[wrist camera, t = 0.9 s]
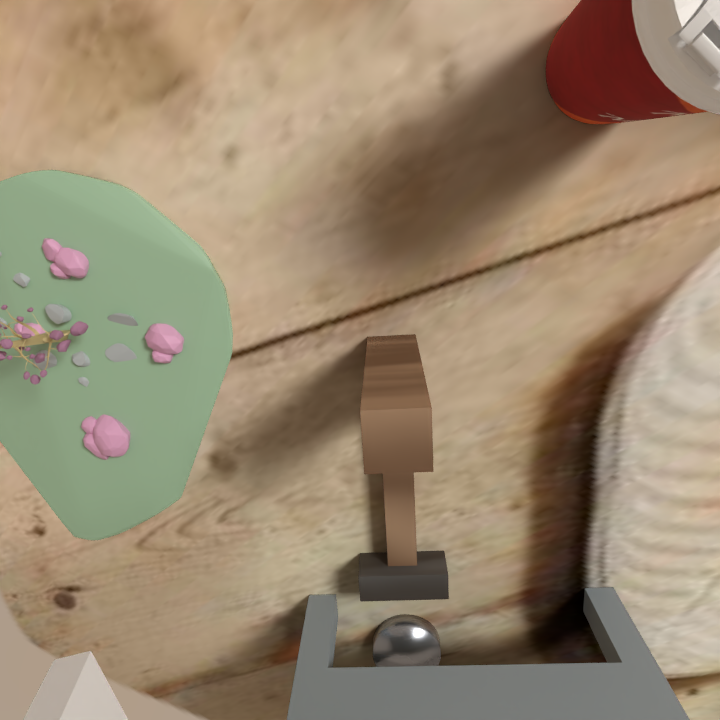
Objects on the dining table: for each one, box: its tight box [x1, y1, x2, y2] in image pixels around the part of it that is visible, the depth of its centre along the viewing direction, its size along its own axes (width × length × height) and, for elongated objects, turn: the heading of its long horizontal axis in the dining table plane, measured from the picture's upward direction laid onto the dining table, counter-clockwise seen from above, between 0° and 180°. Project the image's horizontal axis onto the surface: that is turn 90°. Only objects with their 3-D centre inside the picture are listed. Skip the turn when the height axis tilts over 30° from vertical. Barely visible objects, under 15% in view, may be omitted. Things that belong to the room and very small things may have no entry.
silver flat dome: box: [373, 614, 441, 667], centre depth 41 cm, size 5×5×2 cm
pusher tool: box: [359, 334, 449, 601], centre depth 31 cm, size 18×6×12 cm, turn 4°
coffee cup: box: [546, 0, 720, 124], centre depth 22 cm, size 8×8×15 cm
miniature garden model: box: [0, 170, 233, 540], centre depth 32 cm, size 25×21×9 cm
